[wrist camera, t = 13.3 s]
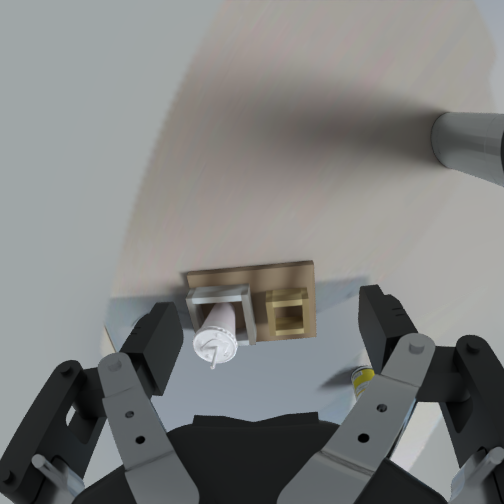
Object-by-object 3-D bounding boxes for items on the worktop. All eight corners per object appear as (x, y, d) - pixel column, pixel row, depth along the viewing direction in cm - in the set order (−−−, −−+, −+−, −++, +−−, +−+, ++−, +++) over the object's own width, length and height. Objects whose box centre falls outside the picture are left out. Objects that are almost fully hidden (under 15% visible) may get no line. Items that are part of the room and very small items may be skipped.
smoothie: (248, 320, 51) (240, 380, 38) (214, 329, 52) (197, 387, 39) (234, 289, 49) (221, 346, 36) (199, 299, 50) (176, 354, 37)
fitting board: (312, 260, 48) (316, 274, 43) (315, 331, 53) (318, 349, 48) (189, 271, 50) (180, 286, 45) (206, 338, 55) (200, 356, 50)
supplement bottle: (373, 381, 57) (384, 415, 48) (349, 384, 58) (357, 419, 49) (377, 363, 55) (389, 398, 46) (351, 366, 56) (361, 403, 47)
